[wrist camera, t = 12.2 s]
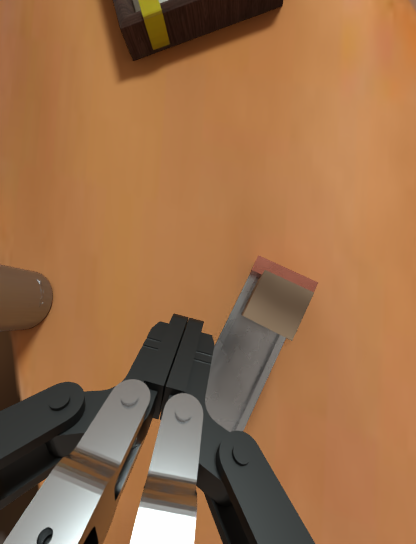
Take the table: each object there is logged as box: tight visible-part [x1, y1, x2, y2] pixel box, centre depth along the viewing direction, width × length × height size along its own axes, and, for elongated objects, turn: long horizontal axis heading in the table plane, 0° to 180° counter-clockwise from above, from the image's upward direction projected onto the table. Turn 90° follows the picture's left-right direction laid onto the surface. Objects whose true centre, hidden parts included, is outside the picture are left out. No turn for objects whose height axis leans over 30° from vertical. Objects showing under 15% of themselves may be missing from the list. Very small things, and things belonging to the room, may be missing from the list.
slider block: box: [241, 270, 314, 341], centre depth 27 cm, size 5×5×9 cm
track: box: [205, 256, 318, 432], centre depth 29 cm, size 22×8×5 cm, turn 153°
